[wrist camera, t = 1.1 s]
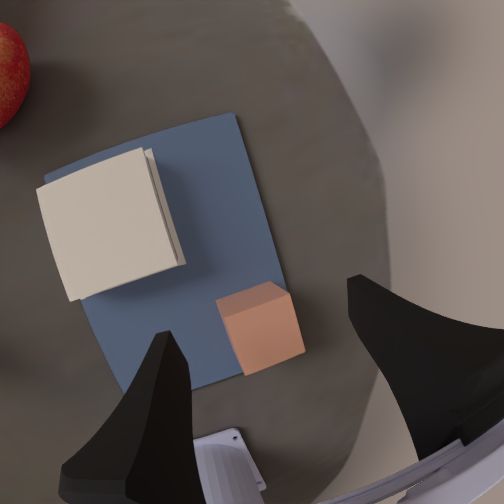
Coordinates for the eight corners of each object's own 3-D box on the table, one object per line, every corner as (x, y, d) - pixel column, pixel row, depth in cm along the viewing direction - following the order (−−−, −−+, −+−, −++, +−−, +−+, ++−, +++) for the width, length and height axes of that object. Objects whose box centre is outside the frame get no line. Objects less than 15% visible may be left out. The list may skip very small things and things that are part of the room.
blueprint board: (300, 346, 23) (303, 348, 23) (132, 403, 21) (131, 407, 20) (232, 114, 20) (234, 111, 20) (46, 176, 18) (43, 175, 17)
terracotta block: (284, 330, 22) (305, 351, 18) (233, 350, 22) (245, 375, 18) (270, 280, 22) (289, 293, 18) (215, 300, 21) (224, 318, 17)
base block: (177, 258, 20) (177, 264, 17) (83, 290, 19) (69, 301, 16) (146, 157, 19) (141, 147, 16) (53, 193, 18) (36, 189, 15)
